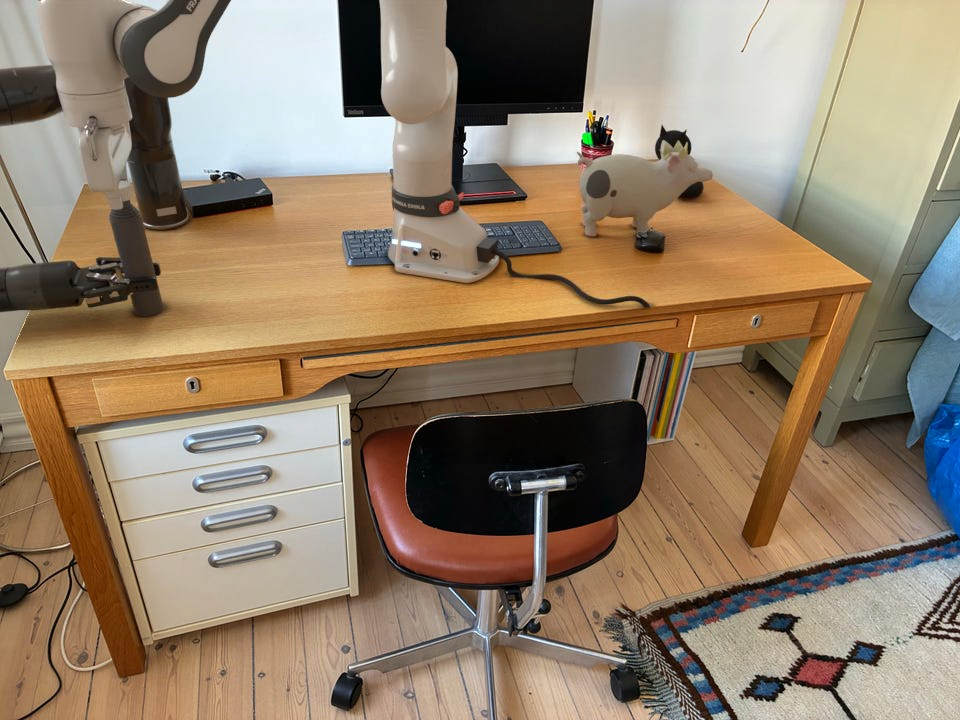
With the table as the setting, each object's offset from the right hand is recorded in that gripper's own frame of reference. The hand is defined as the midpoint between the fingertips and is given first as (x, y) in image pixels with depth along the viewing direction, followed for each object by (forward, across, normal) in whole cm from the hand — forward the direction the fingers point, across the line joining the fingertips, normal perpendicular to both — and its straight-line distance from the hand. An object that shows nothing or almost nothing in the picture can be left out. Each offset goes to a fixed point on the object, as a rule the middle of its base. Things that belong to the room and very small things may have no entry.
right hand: (120, 199), depth 111 cm
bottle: (+20, 0, 0) cm, 20 cm away
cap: (-2, 0, 0) cm, 2 cm away
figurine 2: (+20, +34, -120) cm, 127 cm away
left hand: (+14, 0, -3) cm, 14 cm away
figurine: (+20, +13, -98) cm, 101 cm away
